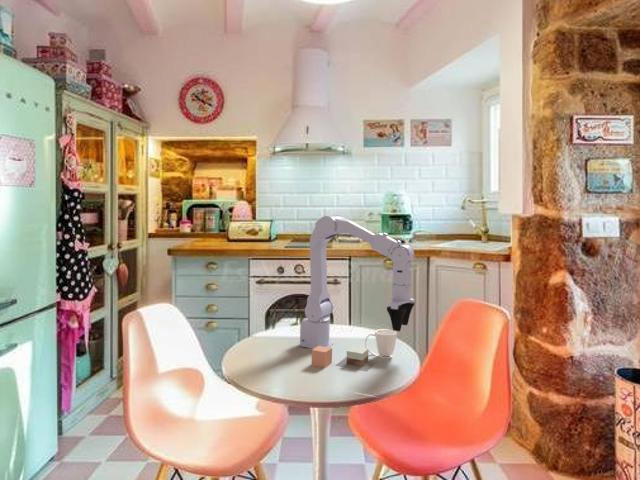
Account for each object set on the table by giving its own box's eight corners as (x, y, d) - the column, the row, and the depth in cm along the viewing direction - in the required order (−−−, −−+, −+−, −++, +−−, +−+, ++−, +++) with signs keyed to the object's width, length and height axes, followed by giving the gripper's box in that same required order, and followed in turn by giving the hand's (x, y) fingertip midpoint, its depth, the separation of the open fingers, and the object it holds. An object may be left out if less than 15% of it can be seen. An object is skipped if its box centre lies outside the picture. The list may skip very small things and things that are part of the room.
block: (311, 366, 141) (311, 349, 140) (318, 361, 145) (318, 345, 144) (325, 369, 139) (325, 352, 138) (331, 364, 143) (332, 348, 142)
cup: (395, 361, 146) (396, 335, 145) (363, 358, 148) (363, 333, 147) (397, 354, 152) (398, 329, 152) (366, 351, 155) (367, 327, 154)
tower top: (346, 357, 142) (346, 351, 141) (353, 352, 146) (353, 346, 146) (362, 360, 139) (362, 353, 139) (368, 355, 144) (368, 348, 144)
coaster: (335, 366, 141) (335, 365, 141) (348, 356, 150) (348, 355, 150) (367, 372, 136) (367, 371, 136) (378, 361, 145) (378, 360, 145)
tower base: (346, 364, 142) (346, 357, 142) (352, 359, 146) (353, 352, 146) (362, 366, 140) (362, 360, 139) (368, 361, 144) (368, 355, 144)
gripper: (408, 289, 137) (406, 335, 138) (420, 281, 150) (419, 323, 151) (384, 286, 140) (383, 331, 142) (399, 279, 153) (397, 321, 154)
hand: (400, 327), depth 147 cm, fingers open, 7 cm apart
